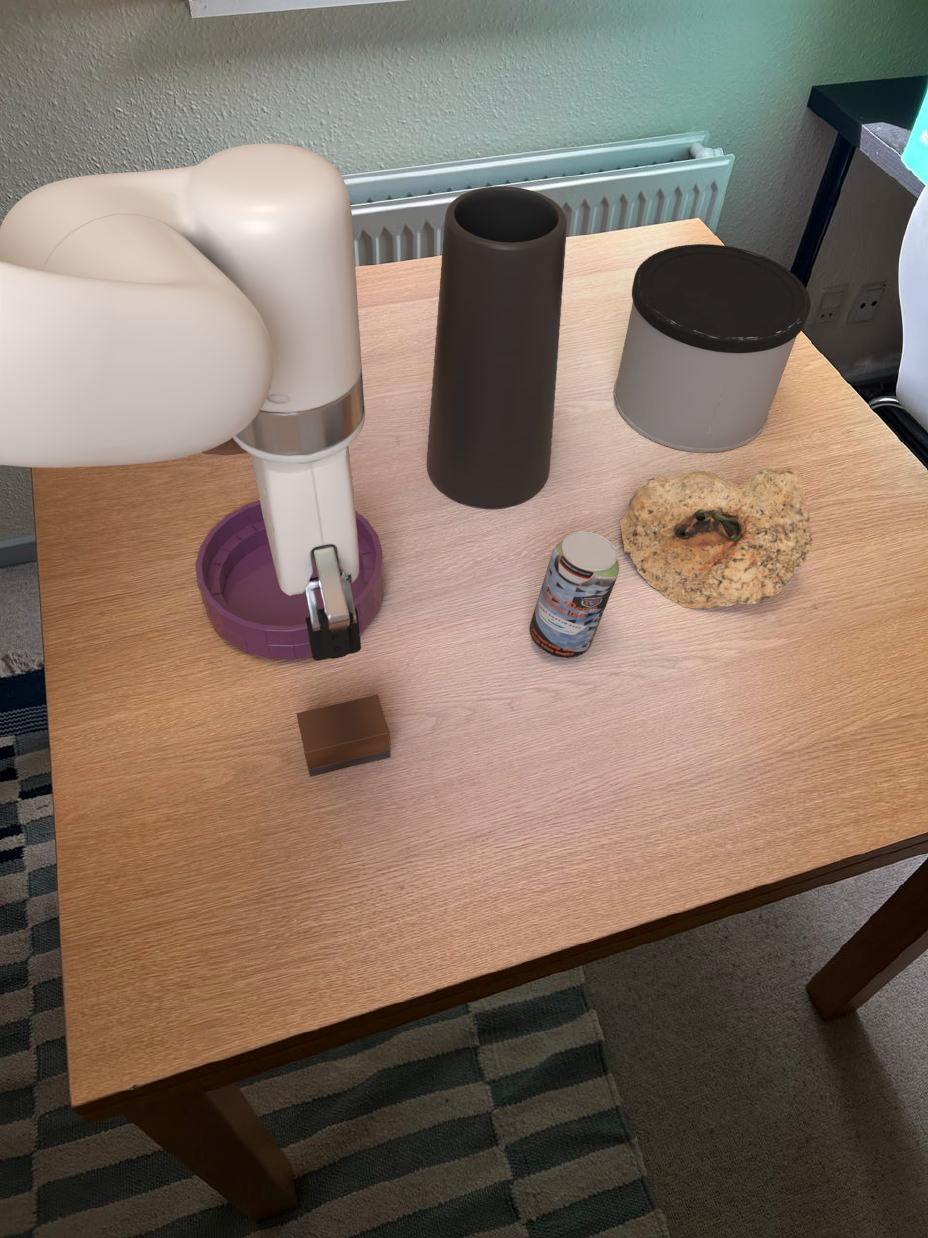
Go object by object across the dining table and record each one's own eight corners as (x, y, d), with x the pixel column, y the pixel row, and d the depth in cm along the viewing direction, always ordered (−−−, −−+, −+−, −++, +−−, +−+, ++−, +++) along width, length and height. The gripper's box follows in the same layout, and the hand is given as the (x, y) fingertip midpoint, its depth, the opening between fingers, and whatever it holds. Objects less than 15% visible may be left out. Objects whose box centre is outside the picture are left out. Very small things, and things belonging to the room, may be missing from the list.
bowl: (315, 693, 82) (309, 660, 78) (168, 614, 87) (156, 580, 83) (416, 571, 92) (416, 536, 88) (279, 506, 97) (273, 471, 93)
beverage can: (515, 640, 87) (526, 555, 77) (563, 598, 90) (579, 511, 81) (566, 678, 84) (584, 595, 75) (614, 633, 88) (637, 548, 78)
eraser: (309, 777, 77) (304, 753, 74) (301, 737, 79) (296, 712, 76) (390, 757, 79) (389, 733, 75) (379, 719, 81) (377, 693, 78)
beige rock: (645, 641, 95) (633, 614, 88) (626, 520, 101) (613, 486, 94) (826, 608, 90) (828, 576, 84) (795, 483, 96) (795, 444, 89)
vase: (537, 519, 97) (572, 267, 74) (413, 496, 98) (409, 242, 76) (558, 437, 105) (594, 187, 83) (442, 417, 107) (447, 167, 84)
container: (665, 471, 102) (696, 357, 90) (583, 374, 113) (602, 261, 101) (801, 429, 107) (847, 317, 96) (711, 341, 118) (743, 229, 106)
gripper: (204, 316, 54) (248, 521, 67) (248, 519, 44) (289, 713, 57) (330, 299, 55) (348, 502, 69) (400, 492, 45) (406, 686, 59)
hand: (322, 598), depth 63 cm, fingers open, 9 cm apart
